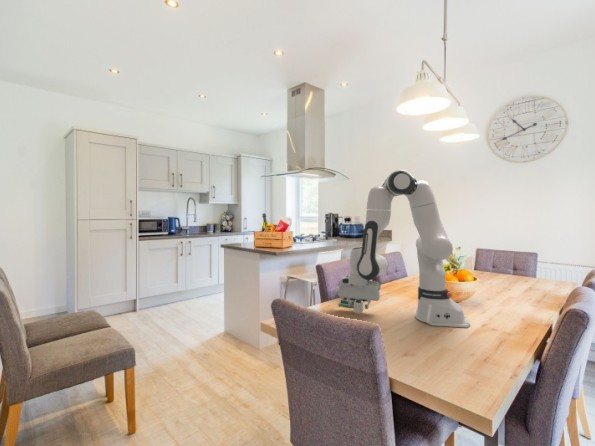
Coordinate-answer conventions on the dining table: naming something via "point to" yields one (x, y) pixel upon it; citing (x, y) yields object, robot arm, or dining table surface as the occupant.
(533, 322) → the dining table surface
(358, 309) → the white and grey block
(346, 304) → the header board
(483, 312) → the dining table surface
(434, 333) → the dining table surface
